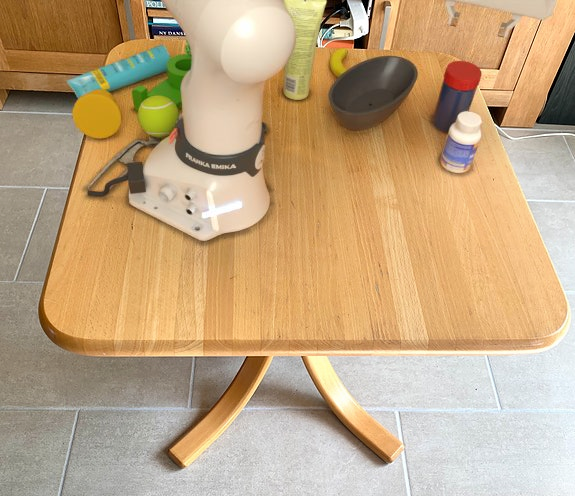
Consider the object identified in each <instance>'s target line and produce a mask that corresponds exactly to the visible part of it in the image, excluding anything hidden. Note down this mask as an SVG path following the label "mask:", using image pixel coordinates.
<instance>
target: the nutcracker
mask: <svg viewBox="0 0 575 496" xmlns="http://www.w3.org/2000/svg"><path fill="white" fill-rule="evenodd" d="M160 142H161V140H160V139H159V138H155V137H153V136H151V135H149V137H148V141H147V140H145V139H141V138H137V139H134V140H133V141H132V142H130V143H128V145H126V146H125V147H123V149H122V150H120V151H119V152H117V154H115V155H114V157H112V159H110V160H109V162H108V163H107V164H106V165H105V166H104V167H103V168H102V169H101V171H100V172H99V173H98V174H97V175H96V176H95V177H94V178H93V180H92V181H91V182H90V183H89V184H88V185H87V187H86V190H89V189H90V188H91V187H92V186H93V185H94V184H95V183H96V182H97V181H98V180H99V179H100V178H101V177H102V175H103V174H104V173H106V172H107V170H108V169H110V167H111V166H113V165H114V164H115V163H116V162H117V161H119V162H121V163H123V164H124V165H125V166H127V163H132V162H136V161H134V159H135V157H136V153H138V151H139V150H140V149H141V148H143V147H149V146H151V147H156V146H157V145H158V144H159V143H160ZM155 145H156V146H155ZM126 175H128V171H127V168H125V170H124V171H122V172H121V174H120V175H119V176H117V178H119V177H123V176H126ZM115 185H116V184H114V185H112V186H111V187H110V188H109V191H111V189H112V188H113V187H114V186H115Z"/></svg>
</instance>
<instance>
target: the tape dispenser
mask: <svg viewBox="0 0 575 496" xmlns="http://www.w3.org/2000/svg"><path fill="white" fill-rule="evenodd" d="M191 57H192V54H191V56H189V55H188V54H187V53H183V54H182V53H181V54H178V55H174V56H172V57H170V58H171V59H169V60H168V62H167V65H166V66H167V71H166V74H167V77H166V79H164V80H163V81H161V82H160V83H159V84H157V85H156V86H155V87H153V88H152V89H150V90H149V91H148V87H146V86H144V85H142V84H139V85H137V86H136V87H135V88H133V89H132V90H131V96H132V103H133V108H134V110H135V111H137V112H138V110H139V107H140V105H141V103H142V102H143V101H144V100H145V99H147V98H149V97H151V96H156V95H159V96H164V97H167V98H169V99H170V100H172V101H173V102H174V103H175V105H176V106H177V108H178V111H179V110H180V109H182V99H181V82H182V80H183V78H184V76H185V75H186V73H187V72H188V71H189V70H191Z"/></svg>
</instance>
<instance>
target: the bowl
mask: <svg viewBox="0 0 575 496" xmlns="http://www.w3.org/2000/svg"><path fill="white" fill-rule="evenodd" d="M346 70H347V71H345V72H344V73H343V74H342V75H340V76H339V77H337V78H336V79H335V81H334V82H332V84H331V86H330V88H329V91H328V102H329V106H330V110H331V112H332V114H333V117H334V118H335V120H336V121H337V123H339V124H340V125H341V126H342V127H343V128H344V129H346V130H348V131H351V132H362V131H366V130H369V129H373V128H374V127H376V126H378V125H379V124H382V123H383V122H384V121H386V120H387V119H388V118H390V116H392V115H393V113H395V112H396V111H397V110H398V109H399V108H400V106H401V105H402V104H403V103H404V101H405V100H406V99H407V97H408V96H409V94H410V93H411V92H412V89H413V88H414V86H415V84H416V83H417V80H418V77H419V76H418V75H419V72H418V68H417V66H416V65H415V64H414V63H413V62H412V61H410V59H407V58H405V57H403V56H398V55H397V56H396V55H381V56H376V57H375V56H374V57H372V58H368V59H366V60H363V61H360V62H359V63H356V64H355V65H353V66H351V67H350V68H348V69H346Z"/></svg>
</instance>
